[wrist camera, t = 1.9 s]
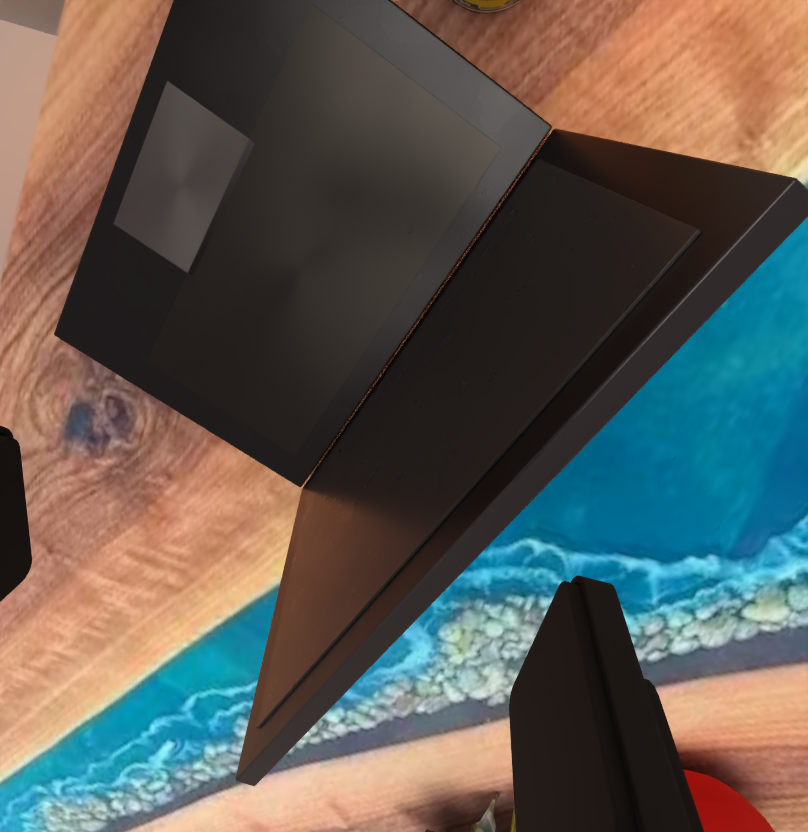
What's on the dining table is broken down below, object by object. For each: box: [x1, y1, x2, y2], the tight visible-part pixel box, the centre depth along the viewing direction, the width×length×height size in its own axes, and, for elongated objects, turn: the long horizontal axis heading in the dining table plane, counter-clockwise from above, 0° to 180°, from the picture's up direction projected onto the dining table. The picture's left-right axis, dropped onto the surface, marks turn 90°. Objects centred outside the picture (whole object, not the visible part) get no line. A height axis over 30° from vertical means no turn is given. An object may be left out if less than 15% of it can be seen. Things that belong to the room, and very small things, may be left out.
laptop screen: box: [236, 129, 808, 786], centre depth 22 cm, size 17×24×1 cm
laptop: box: [54, 0, 552, 487], centre depth 29 cm, size 17×24×2 cm
